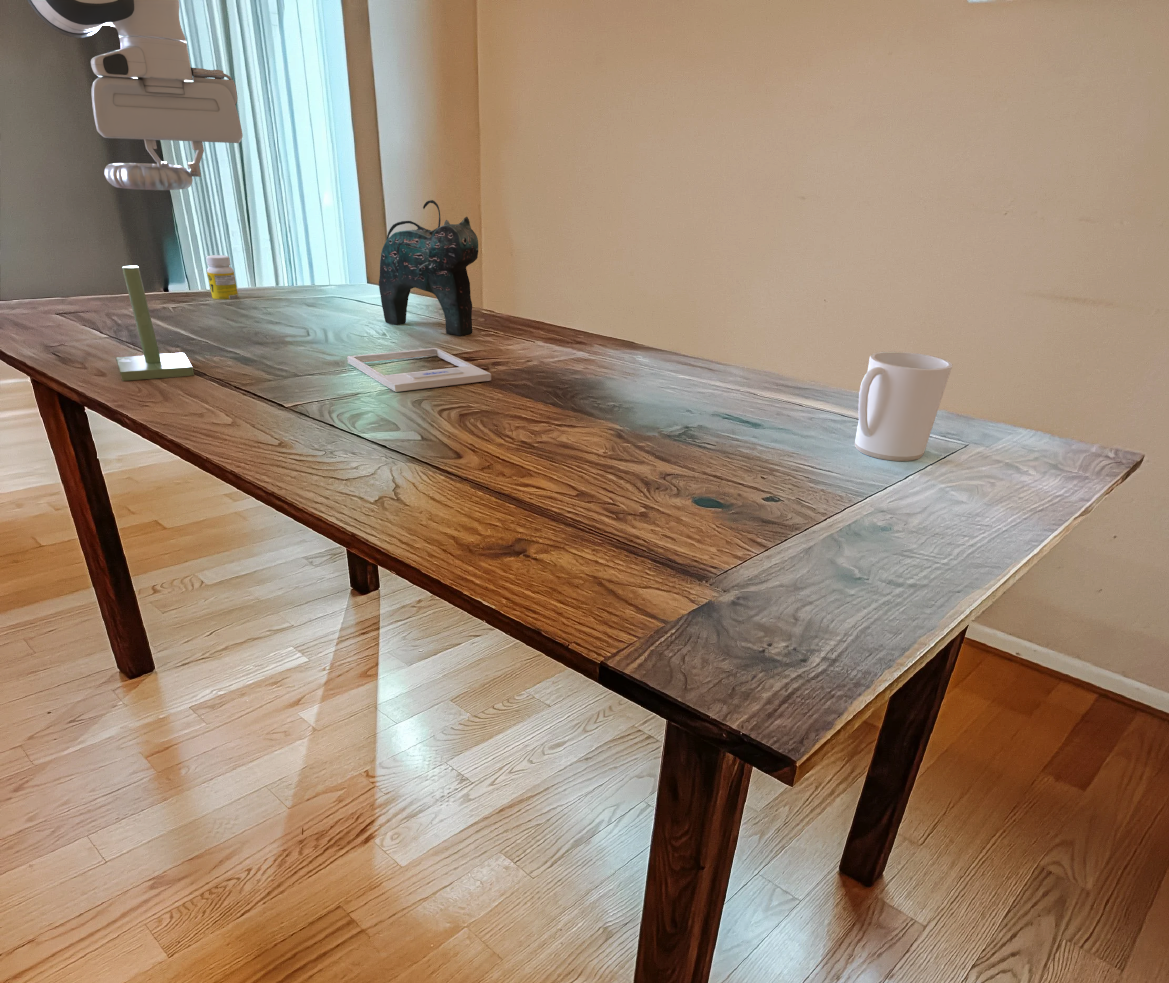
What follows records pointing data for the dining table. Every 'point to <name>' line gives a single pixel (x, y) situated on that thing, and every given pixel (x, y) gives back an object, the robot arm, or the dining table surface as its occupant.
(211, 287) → the supplement bottle
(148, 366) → the stand
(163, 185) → the ring
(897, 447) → the mug
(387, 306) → the ceramic cat
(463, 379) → the photo frame
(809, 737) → the dining table surface
